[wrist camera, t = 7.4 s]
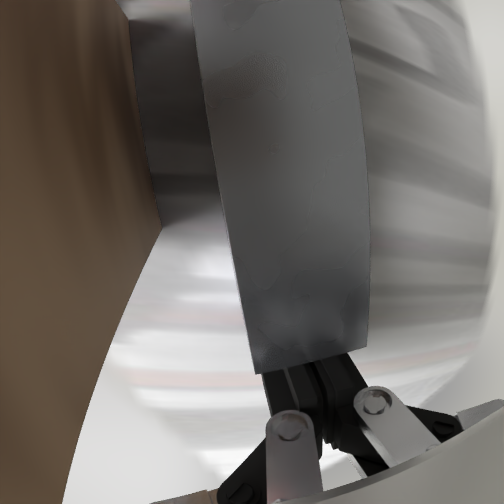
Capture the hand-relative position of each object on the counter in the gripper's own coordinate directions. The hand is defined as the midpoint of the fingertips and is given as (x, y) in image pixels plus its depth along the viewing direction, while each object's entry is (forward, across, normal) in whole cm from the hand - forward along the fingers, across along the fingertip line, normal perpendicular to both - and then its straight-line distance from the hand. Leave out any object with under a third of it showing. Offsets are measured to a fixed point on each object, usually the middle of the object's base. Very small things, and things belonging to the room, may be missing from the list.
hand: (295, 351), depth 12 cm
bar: (+1, 0, -9) cm, 9 cm away
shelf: (+1, +1, -9) cm, 10 cm away
